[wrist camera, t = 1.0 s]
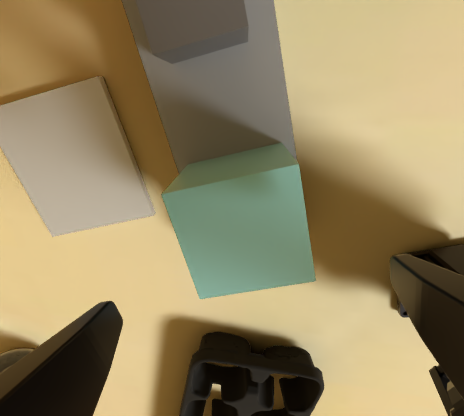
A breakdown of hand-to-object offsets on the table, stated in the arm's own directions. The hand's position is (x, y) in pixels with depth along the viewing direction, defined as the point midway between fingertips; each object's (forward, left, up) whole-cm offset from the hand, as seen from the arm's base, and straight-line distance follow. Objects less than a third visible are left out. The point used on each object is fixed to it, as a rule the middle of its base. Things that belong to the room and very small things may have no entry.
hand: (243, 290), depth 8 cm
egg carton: (-29, +8, -13) cm, 33 cm away
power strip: (+5, 0, -12) cm, 13 cm away
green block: (0, 0, -10) cm, 10 cm away
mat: (+4, +12, -12) cm, 17 cm away
